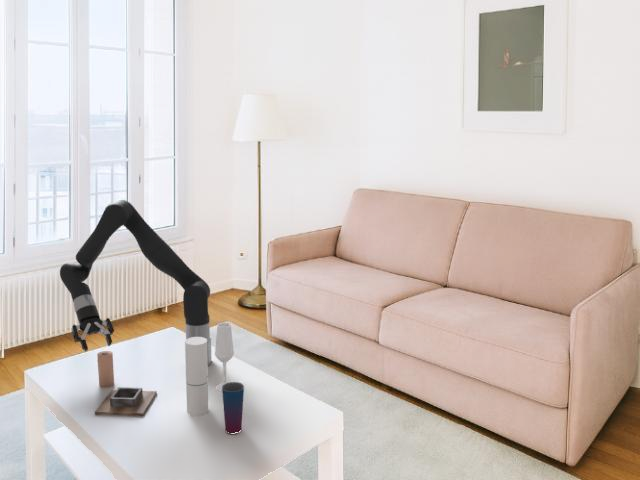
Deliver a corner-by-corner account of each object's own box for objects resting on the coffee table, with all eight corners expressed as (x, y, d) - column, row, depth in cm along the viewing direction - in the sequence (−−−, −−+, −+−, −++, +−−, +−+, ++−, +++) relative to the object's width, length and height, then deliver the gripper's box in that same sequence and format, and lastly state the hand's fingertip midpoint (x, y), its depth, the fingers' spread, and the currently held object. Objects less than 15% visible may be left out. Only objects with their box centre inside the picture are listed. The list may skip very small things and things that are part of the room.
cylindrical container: (211, 406, 215) (209, 337, 210) (205, 416, 208) (203, 345, 203) (190, 404, 216) (188, 336, 210) (184, 415, 209) (182, 344, 204)
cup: (223, 425, 203) (222, 382, 200) (244, 424, 204) (244, 381, 200) (221, 436, 197) (221, 392, 193) (243, 435, 197) (243, 391, 194)
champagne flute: (216, 383, 233) (215, 321, 227) (234, 382, 233) (233, 321, 228) (215, 391, 226) (213, 328, 221) (233, 391, 227) (233, 328, 221)
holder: (156, 393, 223) (156, 383, 222) (143, 416, 208) (142, 405, 207) (111, 392, 224) (111, 381, 223) (94, 414, 208) (94, 403, 207)
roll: (116, 381, 232) (114, 350, 229) (111, 387, 227) (109, 356, 224) (102, 381, 232) (100, 350, 230) (97, 387, 227) (95, 356, 224)
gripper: (68, 308, 231) (80, 347, 225) (106, 301, 240) (119, 338, 234) (64, 317, 237) (76, 356, 230) (102, 310, 245) (115, 347, 239)
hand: (98, 347), depth 232 cm, fingers open, 8 cm apart
